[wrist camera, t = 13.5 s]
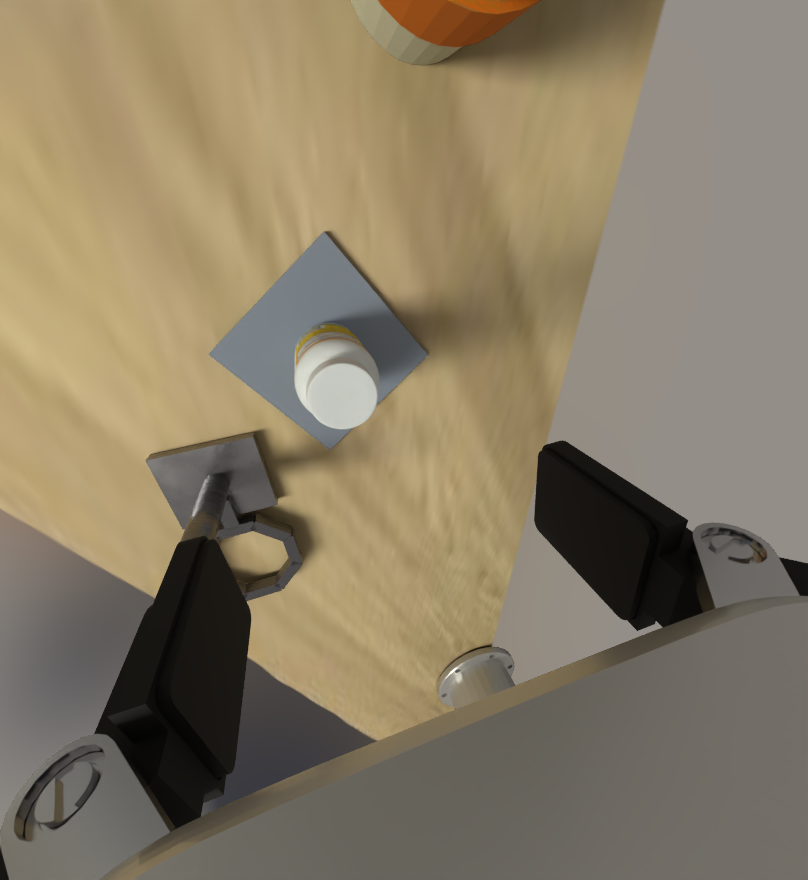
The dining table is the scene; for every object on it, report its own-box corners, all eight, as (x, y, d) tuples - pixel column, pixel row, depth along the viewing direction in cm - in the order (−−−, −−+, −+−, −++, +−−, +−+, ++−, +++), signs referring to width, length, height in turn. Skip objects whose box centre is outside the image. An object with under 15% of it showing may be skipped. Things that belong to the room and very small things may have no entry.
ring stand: (308, 568, 38) (318, 731, 25) (218, 595, 36) (178, 784, 23) (260, 430, 30) (237, 560, 17) (142, 456, 28) (17, 623, 15)
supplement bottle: (300, 314, 27) (302, 338, 18) (369, 331, 28) (400, 360, 20) (289, 383, 29) (287, 433, 20) (355, 395, 30) (377, 445, 22)
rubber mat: (426, 353, 31) (428, 355, 31) (329, 447, 32) (329, 449, 32) (323, 232, 25) (324, 231, 25) (209, 352, 27) (208, 354, 26)
